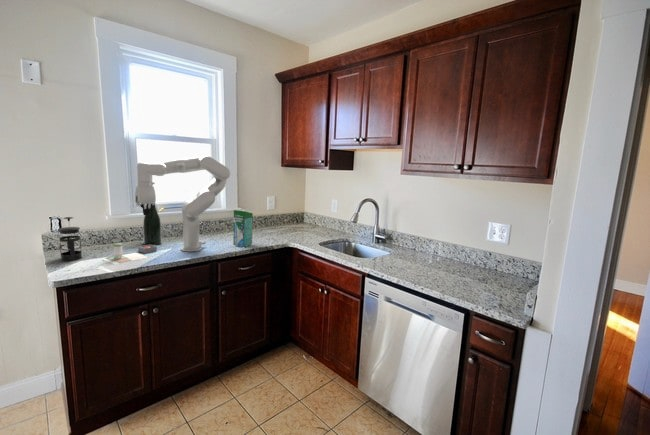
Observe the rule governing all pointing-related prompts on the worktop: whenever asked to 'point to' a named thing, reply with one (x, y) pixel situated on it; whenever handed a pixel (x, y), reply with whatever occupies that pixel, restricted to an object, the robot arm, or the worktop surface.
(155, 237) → the green wine bottle
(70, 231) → the french press
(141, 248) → the button housing
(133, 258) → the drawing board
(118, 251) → the translucent whitish cylinder
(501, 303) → the worktop surface
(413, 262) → the worktop surface
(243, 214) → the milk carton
